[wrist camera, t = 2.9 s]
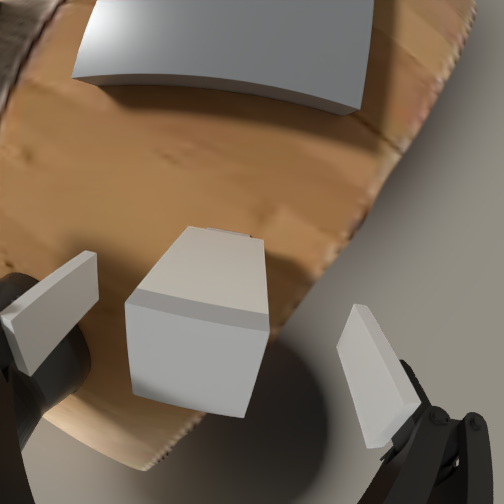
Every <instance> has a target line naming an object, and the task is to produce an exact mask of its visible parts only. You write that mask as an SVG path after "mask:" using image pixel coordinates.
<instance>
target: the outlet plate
mask: <svg viewBox="0 0 504 504" xmlns="http://www.w3.org/2000/svg"><path fill="white" fill-rule="evenodd" d="M373 8H374V0H97V3H96V5H95V7H94V10H93V12H92V15H91V17H90V20H89V22H88V25H87V28H86V31H85V33H84V36H83V39H82V42H81V45H80V49H79V52H78V55H77V59H76V62H75V66H74V70H73V73H72V77H71V78H73V79H76V80H79V81H83V82H86V83H89V84H92V85H95V86H105V85H165V86H182V87H195V88H205V89H214V90H222V91H230V92H237V93H243V94H249V95H255V96H261V97H266V98H271V99H276V100H281V101H285V102H290V103H294V104H298V105H303V106H307V107H311V108H314V109H318V110H322V111H325V112H329V113H332V114H336V115H339V116H345V115H347V114H350V113H353V112H355V111H358V110H360V107H361V102H362V96H363V90H364V83H365V77H366V70H367V63H368V55H369V47H370V39H371V30H372V19H373Z"/></svg>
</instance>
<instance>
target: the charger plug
mask: <svg viewBox="0 0 504 504" xmlns="http://www.w3.org/2000/svg"><path fill="white" fill-rule="evenodd" d="M125 318H126V334H127V346H128V357H129V366H130V375H131V383H132V390H133V395H137V396H140V397H143V398H147V399H151V400H154V401H158V402H162V403H166V404H170V405H174V406H179V407H183V408H188V409H193V410H197V411H203V412H208V413H214V414H220V415H226V416H233V417H240V418H244V415H245V412H246V409H247V406H248V403H249V400H250V396H251V393H252V390H253V387H254V384H255V381H256V377H257V374H258V371H259V367H260V364H261V361H262V357H263V354H264V351H265V347H266V344H267V340H268V337H269V333H270V326H269V311H268V296H267V281H266V267H265V253H264V240H261V239H256V238H251V237H250V235H247V234H242V233H237V232H231V231H226V230H221V229H215V228H210V227H207V228H206V229H203V228H197V227H192V226H188V227H187V228H186V229H185V230H184V232H183V233H182V234H181V235H180V236H179V237H178V239H177V240H176V241H175V242H174V243H173V244H172V245H171V247H170V248H169V249H168V250H167V251H166V252H165V254H164V255H163V256H162V257H161V258H160V260H159V261H158V262H157V263H156V264H155V266H154V267H153V268H152V269H151V270H150V272H149V273H148V274H147V275H146V277H145V278H144V279H143V280H142V281H141V283H140V284H139V285H138V286H137V288H136V289H135V290H134V291H133V293H132V294H131V295H130V296H129V298H128V299H127V300H126V302H125Z"/></svg>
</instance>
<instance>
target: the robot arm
mask: <svg viewBox="0 0 504 504" xmlns="http://www.w3.org/2000/svg"><path fill="white" fill-rule="evenodd" d="M98 300H99V291H98V274H97V253H94V252H90V251H86V250H85V251H83V252H82V253H80V254H79V255H77V256H76V257H74V258H73V259H71V260H70V261H68V262H67V263H66V264H64V265H63V266H61V267H60V268H58V269H57V270H55V271H54V272H53V273H51V274H50V275H48V276H47V277H46V278H44V279H43V280H42V281H40V282H38V281H37V280H35V279H33V278H32V277H30V276H28V275H25V274H22V273H16V272H15V273H9V274H7V275H5V276H4V277H2V278H1V279H0V504H35V502H34V499H33V496H32V492H31V489H30V486H29V483H28V479H27V475H26V472H25V468H24V464H23V459H22V454H21V452H22V450H23V448H24V446H25V445H26V443H27V441H28V439H29V437H30V436H31V434H32V432H33V431H34V429H35V427H36V425H37V424H38V422H39V420H40V419H41V417H42V416H43V414H44V413H45V412H47V411H48V410H49V409H51V408H52V407H54V406H55V405H57V404H58V403H59V402H61V401H62V400H63V399H65V398H66V397H67V396H69V395H70V394H72V393H74V392H76V391H77V390H78V389H79V388H80V386H81V385H82V383H83V382H84V380H85V379H86V377H87V375H88V373H89V371H90V355H89V351H88V348H87V345H86V342H85V340H84V338H83V336H82V333H81V332H80V330H79V328H78V326H77V324H76V323H77V322H78V321H79V320H80V319H81V318H82V317H83V316H84V315H85V314H86V313H87V312H88V311H89V310H90V308H91V307H92V306H93V305H94V304H95V303H96V302H97V301H98ZM336 349H337V352H338V354H339V358H340V361H341V364H342V367H343V370H344V373H345V376H346V379H347V383H348V386H349V389H350V392H351V396H352V399H353V402H354V405H355V409H356V412H357V416H358V419H359V422H360V426H361V429H362V433H363V436H364V440H365V443H366V448H367V449H371V448H381V447H384V446H385V445H386V444H387V442H388V441H389V440H390V439H392V442H393V445H394V446H393V447H392V448H391V449H390V450H389V451H388V452H387V453H386V454H385V455H384V456H383V457H382V458H381V459H380V460H381V461H382V460H383V459H384V458H385V459H384V461H383V463H382V465H381V466H380V468H379V470H378V472H377V473H376V475H375V477H374V478H373V480H372V482H371V483H370V485H369V487H368V488H367V490H366V491H365V493H364V494H363V496H362V498H361V499H360V500H359V502H358V503H357V504H493V474H492V473H493V471H492V459H491V450H490V441H489V434H488V428H487V424H486V421H485V420H484V418H483V417H482V416H481V415H480V414H477V413H475V412H470V413H467V415H466V416H465V417H464V418H463V420H455V419H450V417H449V415H448V414H447V412H446V411H445V410H443V409H442V408H440V407H437V406H432V405H431V403H430V402H429V400H428V398H427V396H426V394H425V392H424V391H423V388H422V387H421V385H420V384H419V381H418V379H417V378H416V377H415V374H414V372H413V370H412V369H411V367H410V366H409V365H408V364H407V363H406V362H405V361H404V360H399V359H398V358H397V356H396V354H395V353H394V351H393V349H392V347H391V345H390V343H389V342H388V340H387V338H386V337H385V335H384V333H383V331H382V330H381V328H380V326H379V325H378V323H377V321H376V320H375V318H374V316H373V315H372V313H371V311H370V310H369V308H368V306H366V305H359V304H354V305H353V308H352V310H351V312H350V315H349V318H348V320H347V322H346V325H345V327H344V330H343V332H342V334H341V336H340V339H339V341H338V343H337V346H336ZM458 459H459V465H458V466H456V461H457V460H458Z"/></svg>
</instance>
